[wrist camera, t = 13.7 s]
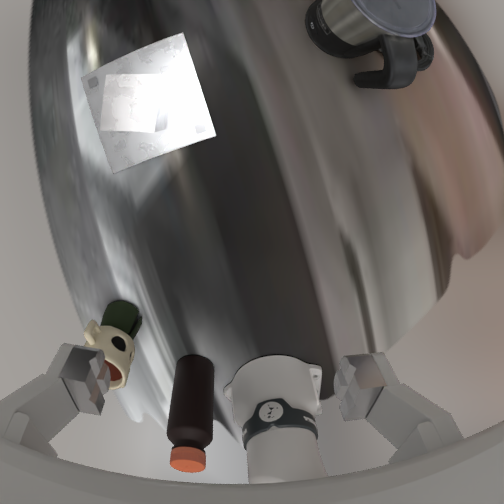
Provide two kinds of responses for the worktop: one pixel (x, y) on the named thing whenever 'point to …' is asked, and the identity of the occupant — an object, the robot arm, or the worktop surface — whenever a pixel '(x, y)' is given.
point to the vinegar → (191, 413)
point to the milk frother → (376, 36)
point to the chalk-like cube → (135, 102)
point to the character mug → (115, 339)
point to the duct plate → (179, 110)
